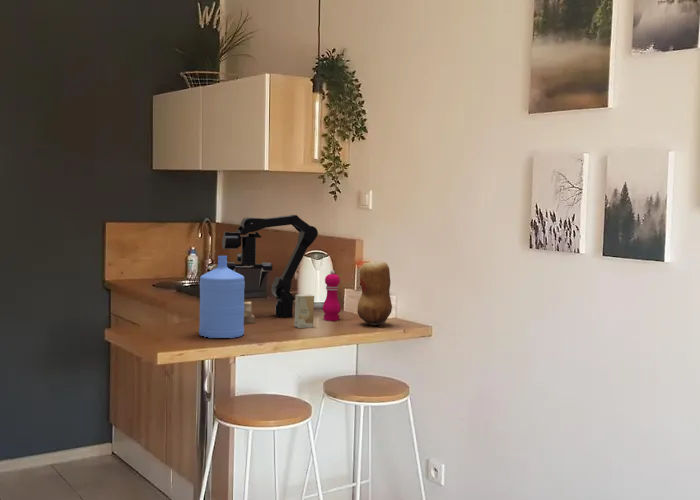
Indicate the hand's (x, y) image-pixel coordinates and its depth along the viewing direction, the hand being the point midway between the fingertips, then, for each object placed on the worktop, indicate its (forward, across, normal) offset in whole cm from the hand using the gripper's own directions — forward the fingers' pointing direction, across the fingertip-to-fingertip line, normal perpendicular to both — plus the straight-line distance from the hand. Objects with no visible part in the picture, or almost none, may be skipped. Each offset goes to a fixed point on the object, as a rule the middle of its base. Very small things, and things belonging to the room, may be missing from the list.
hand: (248, 287), depth 314 cm
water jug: (+12, +11, +37) cm, 41 cm away
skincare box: (+12, -20, +22) cm, 32 cm away
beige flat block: (+12, +2, +11) cm, 17 cm away
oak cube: (+9, +2, +11) cm, 15 cm away
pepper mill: (+12, -33, +6) cm, 36 cm away
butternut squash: (+12, -48, +19) cm, 53 cm away
